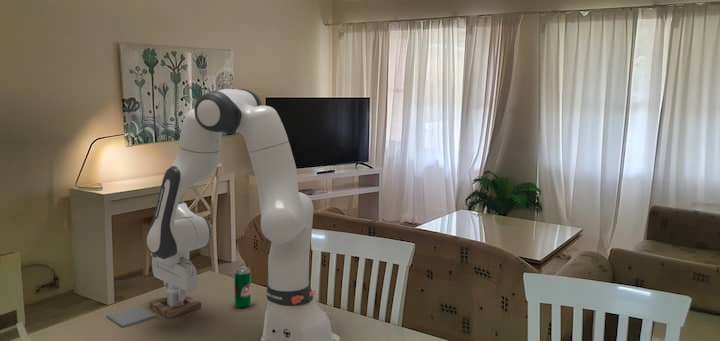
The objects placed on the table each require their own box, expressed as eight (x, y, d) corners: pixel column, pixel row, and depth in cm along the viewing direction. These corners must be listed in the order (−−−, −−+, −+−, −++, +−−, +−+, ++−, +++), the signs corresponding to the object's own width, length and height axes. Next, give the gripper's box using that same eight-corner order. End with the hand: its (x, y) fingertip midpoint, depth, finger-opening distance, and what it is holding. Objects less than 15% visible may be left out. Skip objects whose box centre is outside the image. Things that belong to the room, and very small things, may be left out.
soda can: (243, 310, 167) (242, 272, 165) (231, 306, 170) (230, 269, 168) (254, 304, 171) (254, 268, 170) (242, 301, 174) (242, 265, 172)
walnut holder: (201, 307, 168) (201, 302, 168) (168, 318, 160) (168, 312, 160) (182, 298, 175) (182, 293, 175) (149, 308, 167) (149, 302, 167)
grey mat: (156, 317, 161) (155, 315, 161) (122, 327, 153) (122, 325, 153) (139, 307, 167) (139, 305, 167) (106, 317, 160) (106, 315, 160)
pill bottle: (186, 305, 169) (185, 279, 168) (179, 311, 165) (178, 285, 164) (172, 304, 170) (171, 278, 169) (164, 310, 166) (163, 283, 164)
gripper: (202, 259, 161) (203, 304, 163) (166, 245, 174) (167, 286, 176) (183, 264, 156) (184, 310, 158) (147, 249, 169) (149, 291, 171)
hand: (175, 297), depth 167 cm, fingers closed on pill bottle, 5 cm apart
